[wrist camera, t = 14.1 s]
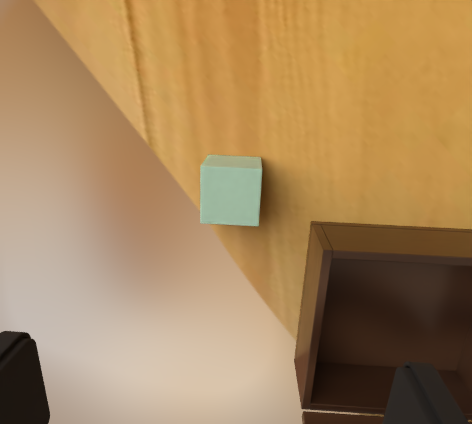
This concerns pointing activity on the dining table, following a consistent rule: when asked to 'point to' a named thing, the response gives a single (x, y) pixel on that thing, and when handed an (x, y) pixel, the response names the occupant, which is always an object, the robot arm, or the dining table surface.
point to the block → (230, 190)
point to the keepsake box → (383, 313)
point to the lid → (340, 418)
